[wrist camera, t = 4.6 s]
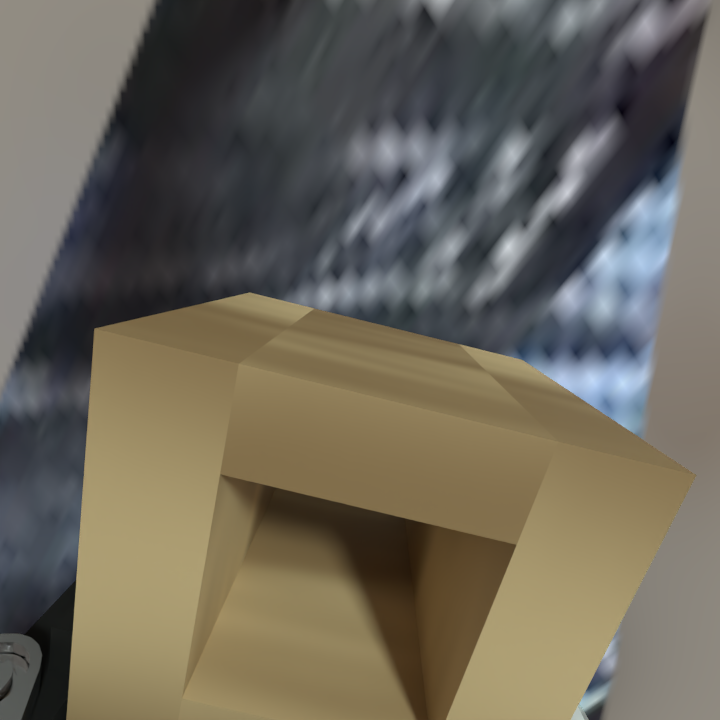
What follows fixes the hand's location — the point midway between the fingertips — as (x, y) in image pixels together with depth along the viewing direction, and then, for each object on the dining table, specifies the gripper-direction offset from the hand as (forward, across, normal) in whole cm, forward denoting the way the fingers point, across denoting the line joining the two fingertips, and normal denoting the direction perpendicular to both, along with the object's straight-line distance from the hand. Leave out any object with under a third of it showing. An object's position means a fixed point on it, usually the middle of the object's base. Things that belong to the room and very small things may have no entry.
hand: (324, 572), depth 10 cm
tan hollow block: (+1, 0, 0) cm, 1 cm away
